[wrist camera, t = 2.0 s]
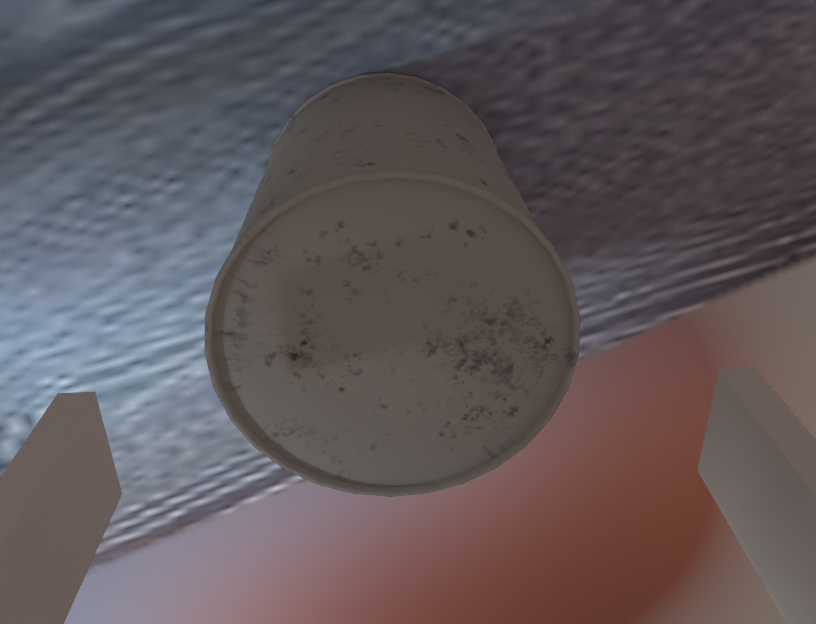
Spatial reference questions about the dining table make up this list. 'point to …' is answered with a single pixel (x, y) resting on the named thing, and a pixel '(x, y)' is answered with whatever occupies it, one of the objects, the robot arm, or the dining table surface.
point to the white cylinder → (390, 298)
